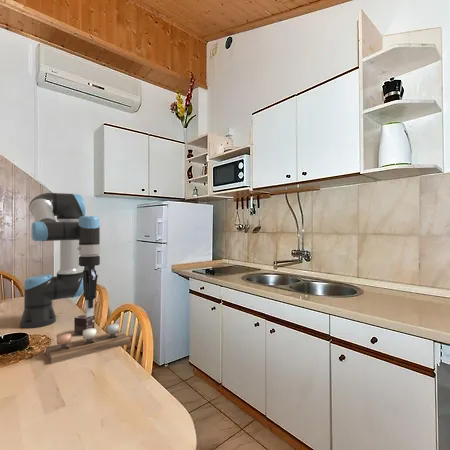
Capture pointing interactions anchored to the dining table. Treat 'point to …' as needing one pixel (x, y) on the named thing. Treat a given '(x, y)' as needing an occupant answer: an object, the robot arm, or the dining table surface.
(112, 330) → the grey knob
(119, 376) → the dining table surface
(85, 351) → the panel
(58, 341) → the pink rounded piece
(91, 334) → the key ivory
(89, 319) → the box
